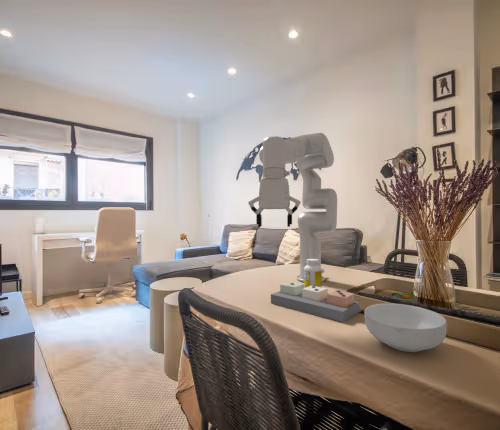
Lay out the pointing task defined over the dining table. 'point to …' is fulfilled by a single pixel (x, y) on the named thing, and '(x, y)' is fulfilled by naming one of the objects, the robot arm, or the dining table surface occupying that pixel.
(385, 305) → the cereal bowl
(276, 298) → the grey flat board
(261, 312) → the dining table surface
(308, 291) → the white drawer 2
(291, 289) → the knob block
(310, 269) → the supplement bottle
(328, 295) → the pink block
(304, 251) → the robot arm
